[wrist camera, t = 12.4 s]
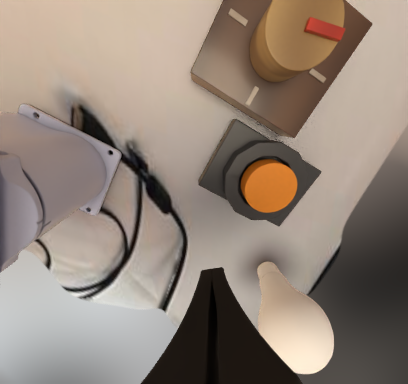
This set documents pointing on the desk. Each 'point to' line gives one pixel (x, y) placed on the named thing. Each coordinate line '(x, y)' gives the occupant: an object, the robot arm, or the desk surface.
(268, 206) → the power button
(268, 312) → the lightbulb
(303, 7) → the dimmer knob
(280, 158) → the switch block
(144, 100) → the desk surface
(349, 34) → the dimmer console
